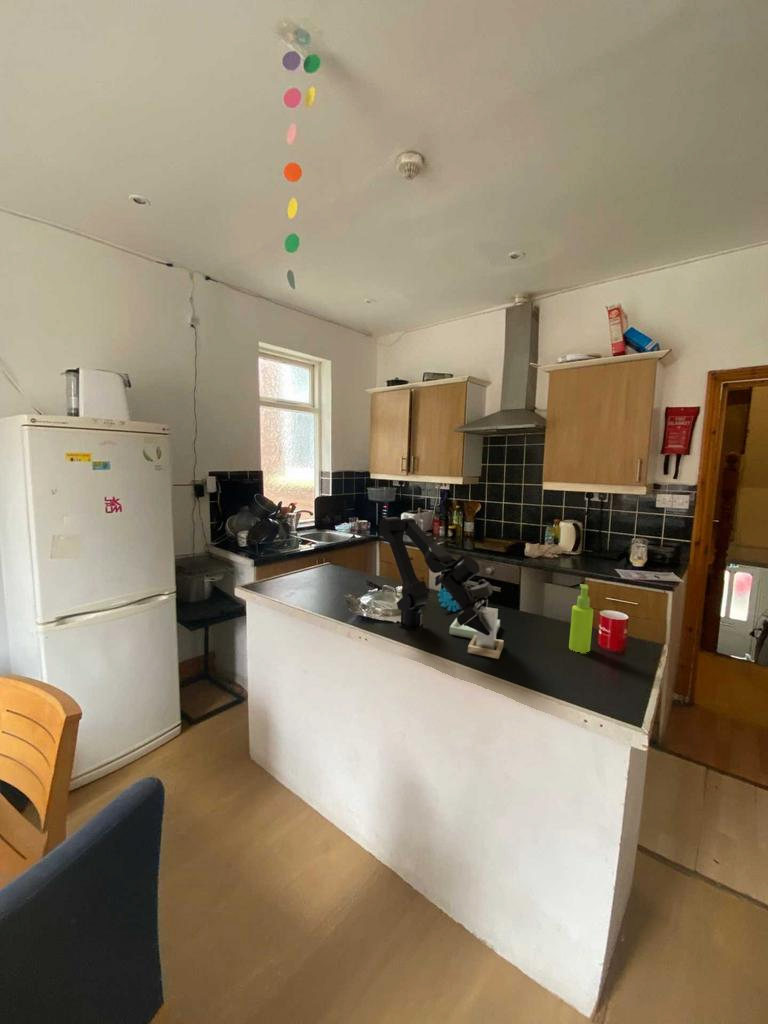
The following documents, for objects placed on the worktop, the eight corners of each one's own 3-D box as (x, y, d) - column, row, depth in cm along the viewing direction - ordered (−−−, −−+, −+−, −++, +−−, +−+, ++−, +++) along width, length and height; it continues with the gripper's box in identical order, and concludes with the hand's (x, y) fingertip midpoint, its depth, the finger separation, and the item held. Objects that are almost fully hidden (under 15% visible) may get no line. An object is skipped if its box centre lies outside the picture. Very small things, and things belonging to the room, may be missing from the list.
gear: (446, 610, 156) (436, 587, 162) (437, 618, 160) (427, 594, 165) (467, 609, 163) (457, 586, 168) (458, 616, 166) (448, 594, 172)
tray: (449, 634, 140) (449, 626, 139) (459, 619, 152) (460, 613, 152) (492, 642, 134) (493, 634, 134) (499, 626, 147) (500, 619, 147)
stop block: (475, 651, 128) (477, 611, 126) (479, 644, 132) (481, 606, 131) (492, 654, 126) (495, 614, 124) (495, 648, 130) (497, 608, 129)
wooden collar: (467, 652, 127) (468, 646, 127) (474, 640, 135) (474, 634, 135) (498, 658, 123) (498, 652, 123) (503, 646, 131) (503, 640, 131)
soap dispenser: (588, 645, 134) (593, 583, 131) (591, 654, 127) (596, 590, 125) (567, 642, 136) (573, 581, 133) (569, 651, 129) (575, 587, 126)
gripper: (469, 581, 119) (507, 625, 116) (482, 566, 136) (516, 604, 133) (441, 603, 123) (477, 647, 120) (457, 586, 140) (489, 624, 137)
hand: (491, 629), depth 128 cm, fingers open, 8 cm apart
